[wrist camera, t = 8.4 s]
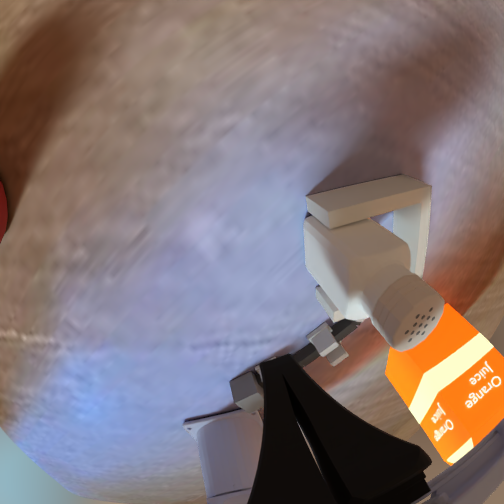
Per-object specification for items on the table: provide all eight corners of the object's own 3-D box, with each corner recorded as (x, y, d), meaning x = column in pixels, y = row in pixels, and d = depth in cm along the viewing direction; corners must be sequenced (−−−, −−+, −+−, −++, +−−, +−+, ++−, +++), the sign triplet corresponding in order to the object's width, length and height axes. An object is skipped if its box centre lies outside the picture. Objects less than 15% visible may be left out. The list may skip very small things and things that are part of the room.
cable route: (383, 293, 23) (399, 309, 21) (246, 395, 25) (252, 415, 23) (372, 272, 21) (389, 288, 19) (225, 384, 23) (230, 405, 21)
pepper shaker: (302, 268, 19) (377, 370, 11) (299, 214, 17) (394, 305, 9) (352, 255, 20) (438, 339, 12) (353, 203, 18) (459, 274, 10)
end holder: (399, 266, 22) (421, 284, 19) (316, 297, 21) (333, 322, 18) (403, 174, 18) (431, 185, 15) (305, 196, 17) (328, 212, 14)
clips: (384, 299, 23) (398, 313, 21) (277, 386, 25) (284, 404, 23) (366, 272, 21) (381, 287, 19) (247, 371, 23) (253, 391, 21)
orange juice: (391, 334, 26) (499, 477, 9) (448, 302, 27) (553, 412, 9) (384, 375, 30) (464, 495, 12) (435, 344, 31) (517, 444, 13)
